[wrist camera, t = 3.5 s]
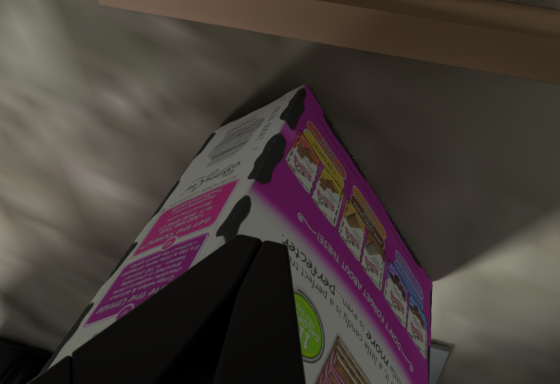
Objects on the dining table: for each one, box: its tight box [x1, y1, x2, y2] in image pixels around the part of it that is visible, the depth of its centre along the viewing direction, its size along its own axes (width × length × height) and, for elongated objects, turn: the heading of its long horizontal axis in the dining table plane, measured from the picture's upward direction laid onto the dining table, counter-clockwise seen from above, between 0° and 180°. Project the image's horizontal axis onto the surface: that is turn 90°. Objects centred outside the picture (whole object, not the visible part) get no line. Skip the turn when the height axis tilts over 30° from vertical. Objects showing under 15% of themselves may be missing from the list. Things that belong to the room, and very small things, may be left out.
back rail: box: [98, 0, 560, 85], centre depth 16 cm, size 1×14×3 cm, turn 85°
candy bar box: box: [37, 84, 433, 384], centre depth 16 cm, size 11×5×16 cm, turn 34°
